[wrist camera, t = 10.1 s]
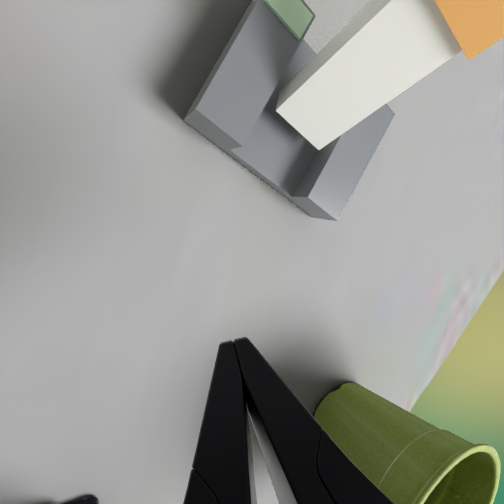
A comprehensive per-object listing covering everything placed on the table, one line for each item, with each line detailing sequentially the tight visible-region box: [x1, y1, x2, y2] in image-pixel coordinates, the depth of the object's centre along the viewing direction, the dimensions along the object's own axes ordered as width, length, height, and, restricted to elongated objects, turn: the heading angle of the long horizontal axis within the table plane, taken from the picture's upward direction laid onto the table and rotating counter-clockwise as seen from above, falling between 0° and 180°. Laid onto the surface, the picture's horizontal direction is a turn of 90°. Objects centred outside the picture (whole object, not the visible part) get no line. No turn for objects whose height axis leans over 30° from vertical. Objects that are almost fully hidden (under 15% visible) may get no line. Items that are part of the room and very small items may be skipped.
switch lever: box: [276, 0, 504, 150], centre depth 16 cm, size 3×5×10 cm
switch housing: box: [183, 0, 395, 221], centre depth 20 cm, size 9×12×3 cm
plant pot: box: [314, 383, 500, 504], centre depth 25 cm, size 12×12×11 cm
